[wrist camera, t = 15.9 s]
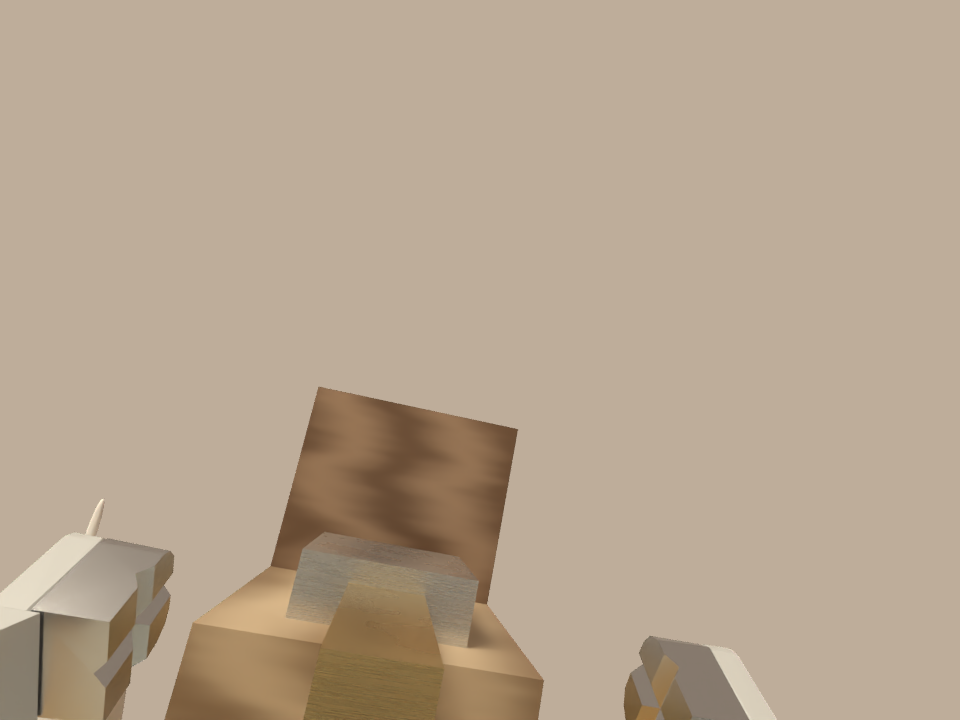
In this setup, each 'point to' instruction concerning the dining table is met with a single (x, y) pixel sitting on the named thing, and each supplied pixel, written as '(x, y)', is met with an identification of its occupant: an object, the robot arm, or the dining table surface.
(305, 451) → the stepped stand
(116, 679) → the robot arm
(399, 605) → the lever cap
